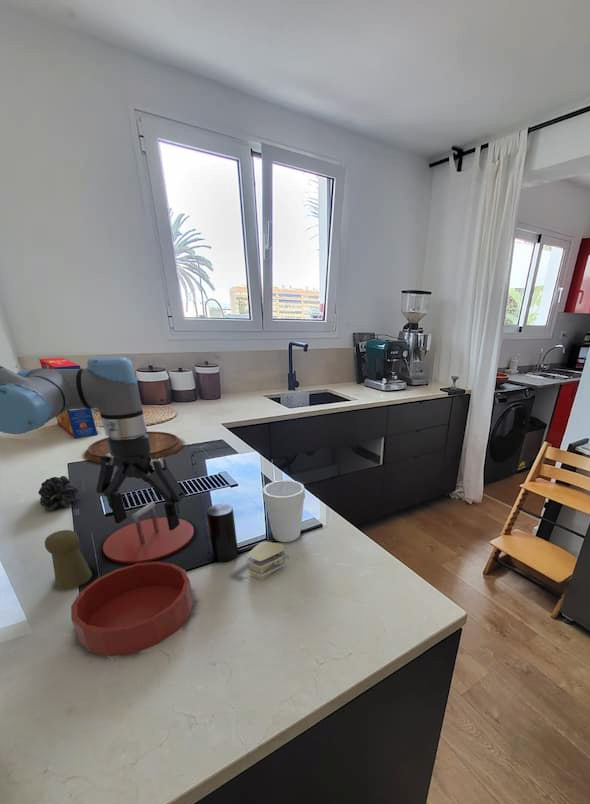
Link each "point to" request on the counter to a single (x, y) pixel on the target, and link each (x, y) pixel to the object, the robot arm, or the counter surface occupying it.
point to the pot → (132, 608)
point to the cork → (67, 559)
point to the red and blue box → (72, 419)
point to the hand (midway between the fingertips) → (147, 524)
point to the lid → (147, 538)
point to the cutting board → (159, 445)
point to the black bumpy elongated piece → (57, 493)
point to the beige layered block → (265, 559)
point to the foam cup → (284, 508)
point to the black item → (222, 532)
